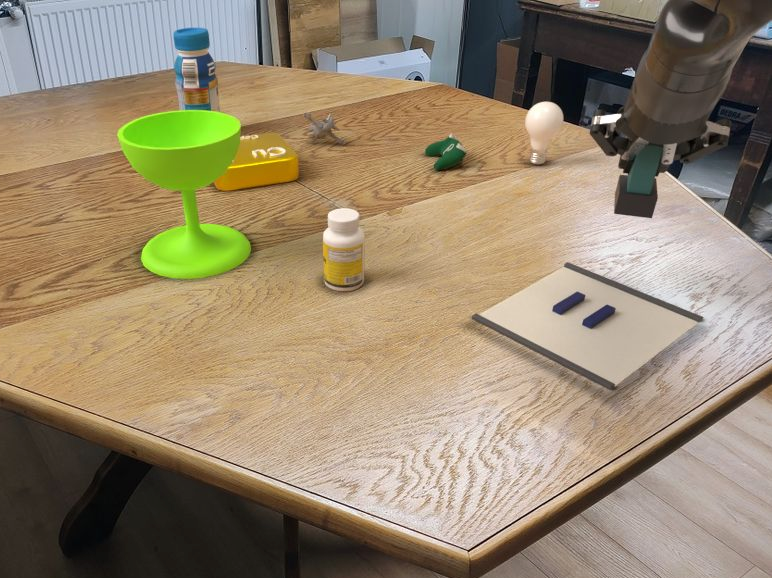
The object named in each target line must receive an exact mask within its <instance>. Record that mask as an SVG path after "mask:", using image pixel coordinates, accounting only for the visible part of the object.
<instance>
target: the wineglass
mask: <svg viewBox="0 0 772 578" xmlns="http://www.w3.org/2000/svg"><path fill="white" fill-rule="evenodd" d="M241 131H242V125H241V121H240V120H239V119H238V118H237V117H235V116H234V115H231V114H228V113H224V112H221V111H220V112H216V111H207V110H180V109H179V110H170V111H163V112H157V113H153V114H152V113H151V114H148V115H144V116H142V117H138V118H136V119H132V120H131V121H129V122H126V123H125V124H124V125H122V126H121V127H120V128H118V131H117V139H118V142H119V145H120V148H121V151H122V152H123V154H124V156H125V157H126V159H127V161H128V162H129V164H130V166H131V167H132V169H133V170H134V171H136V172H137V173H138V174H139V176H141V177H142V178H143V179H145V180H146V181H148V182H149V183H151V184H153V185H156V187H157V186H158V187H160V188H162V189H164V190H168V191H178V192H180V193H181V199H182V206H183V213H184V219H185V225H180V226H176V227H172V228H170V229H167V230H164V231H163V232H160V233H158V234H156V235H155V236H153V237H152V238H151V239H150V240H149V241H147V243H146V244H145V245H144V247H143V248H142V251H141V257H140V261H141V263H142V265H143V266H144V268H146V269H147V270H148V271H149V272H151V273H154V274H155V275H157V276H160V277H166V278H169V279H177V280H178V279H179V280H181V279H183V280H192V279H204V278H209V277H213V276H214V277H215V276H217V275H221V274H224V273H227V272H229V271H232V270H233V269H235V268H237V267H239V266H240V265H242V264H243V263H244V262H245V261H246V260H247V259H248V258H249V257H250V255H251V251H252V247H251V242H250V241H249V239H248V238H247V237H246V235H245V234H244V233H242V232H241V231H239V230H237V229H236V228H233V227H230V226H228V225H222V224H217V223H200V216H199V211H198V210H199V209H198V201H197V194H196V190H198V189H202V188H205V187H207V186H210V185H211V184H214V183H213V182H214V181H215V180H216V179H218V178H219V177H220V176H222V175H223V174H224V173H225V172H226V170H227V169H228V167H229V166H230V165H231V163H232V162H233V160H234V158H235V157H236V154H237V151H238V148H239V145H240V137H241Z"/></svg>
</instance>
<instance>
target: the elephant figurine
mask: <svg viewBox="0 0 772 578" xmlns="http://www.w3.org/2000/svg"><path fill="white" fill-rule="evenodd" d="M303 117H304V118H305V119H307V121H310V122H311V123H312V124H310V125H309V126H308V129H307V130H308V132H309V133H312V132H313V134H314V138H313V139H312V140H311V141H310V142H311V143H310V144H313V143H314V142H315V141H316V140H317V139H324V138H326V137H327V136H328V137H331V138H332V139H334V140H335V141H336V142H337V143H338V144H340V145H341V146H344V145H345V144H346V142H345V141H344V140H343V139H344V136H342V137H339V136H337V135H335V134H334V133H333V131H332V129H333V130H334V131H338V132H340V128H339V127H338V126H336V125H335V123H334V122H335V120H336V119H337V117H334V116H332V113H329V115H328V116H327V118H325V117H323V116H322V117H321V121H317V120H316V119H314V118H313V117H312V116H311V111H309V113H307V111H305V112H303Z"/></svg>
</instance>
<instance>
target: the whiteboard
mask: <svg viewBox="0 0 772 578" xmlns="http://www.w3.org/2000/svg"><path fill="white" fill-rule="evenodd" d="M575 292H580V293H582V294H584V295H586V296H585V300H584V301H582V302H581V303H579V304H578V305H576V306H574V307H573V308H571V309H570V310H568V311H566V312H565V313H563V314H562V315H559V314H557V313H555V312H553V311H552V310H553V306H554V305H555V304H557V303H559V302H560V301H562V300H564V299H565V298H567V297H569V296H570V295H572V294H574V293H575ZM605 305H610V306H612V307H614V308H616V309H615V313H614V314H613V315H611V316H610V317H608V318H607V319H605V320H604V321H602V322H601V323H599V324H598V325H596V326H595V327H593V328H592V329H590V328H588V327H585V326H583V325H582V323H583V319H585V318H586V317H588V316H590V315H591V314H593V313H594V312H596V311H597V310H599V309H600V308H602V307H603V306H605ZM703 318H704V316H702V315H701V314H700V315H699V314H697V313H694V312H692V311H690V310H687V309H685V308H682V307H680V306H678V305H674V304H673V303H670V302H667V301H665V300H662V299H661V298H657V297H655V296H653V295H650V294H648V293H645V292H643V291H640V290H638V289H636V288H633V287H630V286H628V285H625V284H623V283H621V282H618V281H615V280H613V279H610V278H608V277H606V276H603V275H600V274H598V273H596V272H593V271H591V270H588V269H586V268H583V267H580V266H578V265H576V264H574V263H571V262H568V261H567V262H565V263H564V264H563V266H562V267H560V268H559V269H557V270H555V271H553V272H551V273H550V274H548V275H546V276H543V278H541V279H539V280H537V281H535V282H533V283H532V284H530V285H529V286H527V287H525V288H523V289H521V290H519V291H517V292H516V293H514V294H512V295H511V296H509V297H507V298H505V299H504V300H502V301H500V302H498V303H497V304H495V305H492V306H491V307H489V308H487V309H486V310H484V311H482V312H480V313H474V314H472V316H471V320H473V321H475V322H476V323H479V324H480V325H482V326H485V327H487V328H489V329H491V330H492V331H493V332H496V333H498V334H500V335H502V336H504V337H506V338H508V339H510V340H512V341H513V342H515V343H518V344H519V345H522V346H523V347H525V348H527V349H529V350H532V352H535V353H537V354H539V355H540V356H542V357H545V358H547V359H549V360H551V361H552V362H555V363H556V364H558V365H560V366H562V367H565V368H566V369H568V370H570V371H572V372H574V373H576V374H578V375H580V376H581V377H584V378H585V379H588V380H589V381H591V382H592V383H595V384H597V385H599V386H601V387H602V388H604V389H607V390H608V391H611V390H613V389H614V388H616V387H617V386H618V385H619V384H621V383H622V382H623V381H625V380H626V379H628V378H629V377H630V376H631V375H632V374H634V373H635V372H637V371H638V370H639V369H641V368H642V367H644V365H646V364H647V363H648V362H650V361H652V359H654V358H655V357H656V356H658V355H659V354H661V352H663V351H664V350H665V349H667V348H668V347H669V346H671V345H672V344H673V343H674V342H676V341H677V340H678V339H679V338H682V336H684V335H685V334H687V333H688V332H690V330H691V329H693V328H694V327H695V326H697V325H698V324H699V323H700V322H702V321H703Z"/></svg>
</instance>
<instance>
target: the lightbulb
mask: <svg viewBox="0 0 772 578" xmlns="http://www.w3.org/2000/svg"><path fill="white" fill-rule="evenodd" d="M564 117H565V116H564V113H563V110H562V108H561V107H560V106H559V105H558V104H556V103H555V102H552V101H540V102H538V103H535V104H534V105H532V107H531V108H529V110H528V111H527V113H526V115H525V119H524V127H525V130H526V133H527V135H528V136H529V141H530V142H529V144H530V148H531V149H530V156H529V162H530V163H531V164H532V165H534V166H539V165H542V164H544V163H546V156H547V152H548V149H549V147H550V145H551V144H552V141H553V139H554V138H555V137H556V136H557V135H558V134H559V133H560V131H561V129H562V128H563V125H564Z"/></svg>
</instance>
